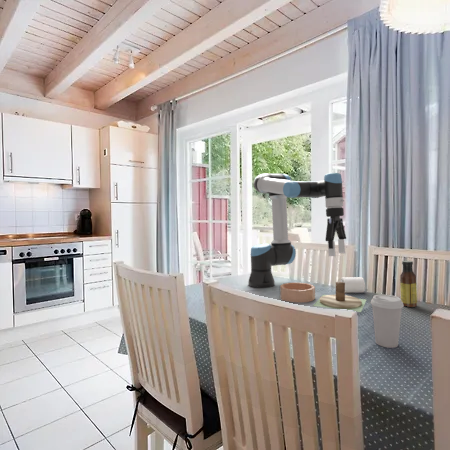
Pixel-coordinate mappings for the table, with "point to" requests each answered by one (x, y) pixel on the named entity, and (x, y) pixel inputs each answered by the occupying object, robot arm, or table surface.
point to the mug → (353, 284)
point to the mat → (339, 308)
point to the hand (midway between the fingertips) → (337, 254)
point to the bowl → (297, 292)
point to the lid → (340, 299)
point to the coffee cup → (387, 319)
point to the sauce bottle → (408, 285)
